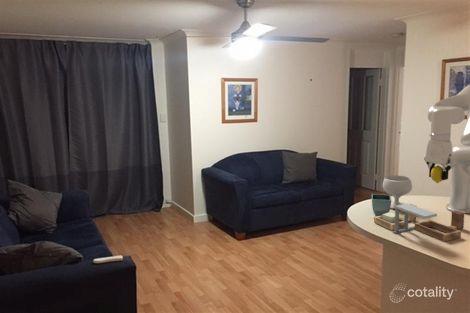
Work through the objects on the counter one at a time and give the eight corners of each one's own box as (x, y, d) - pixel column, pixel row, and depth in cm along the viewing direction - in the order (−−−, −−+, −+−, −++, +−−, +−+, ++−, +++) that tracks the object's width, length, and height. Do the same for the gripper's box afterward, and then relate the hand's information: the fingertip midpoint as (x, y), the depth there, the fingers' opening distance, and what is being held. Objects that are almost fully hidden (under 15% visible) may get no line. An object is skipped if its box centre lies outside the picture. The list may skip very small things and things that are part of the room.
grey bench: (430, 223, 171) (431, 198, 169) (461, 235, 158) (463, 207, 155) (392, 233, 163) (393, 206, 161) (421, 245, 150) (422, 216, 147)
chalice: (402, 201, 204) (403, 174, 201) (416, 209, 190) (418, 180, 187) (377, 203, 203) (377, 175, 200) (389, 211, 189) (390, 182, 187)
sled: (403, 215, 182) (404, 201, 181) (422, 223, 172) (423, 208, 171) (374, 222, 176) (374, 207, 174) (391, 230, 166) (392, 215, 164)
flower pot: (391, 218, 180) (391, 200, 179) (371, 217, 183) (371, 199, 182) (390, 212, 189) (390, 194, 187) (371, 211, 191) (371, 193, 190)
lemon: (440, 181, 170) (441, 163, 169) (447, 184, 165) (448, 166, 163) (427, 181, 170) (428, 164, 169) (434, 185, 165) (435, 167, 163)
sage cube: (389, 222, 176) (389, 212, 175) (398, 225, 171) (399, 214, 171) (382, 224, 173) (382, 214, 172) (391, 228, 169) (392, 217, 168)
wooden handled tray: (444, 221, 172) (445, 207, 171) (476, 233, 159) (477, 217, 157) (414, 229, 166) (415, 213, 164) (444, 241, 152) (445, 224, 151)
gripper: (417, 136, 170) (416, 175, 174) (452, 140, 155) (449, 183, 158) (430, 134, 173) (428, 173, 176) (465, 138, 157) (462, 181, 161)
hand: (438, 177), depth 167 cm, fingers closed on lemon, 5 cm apart
